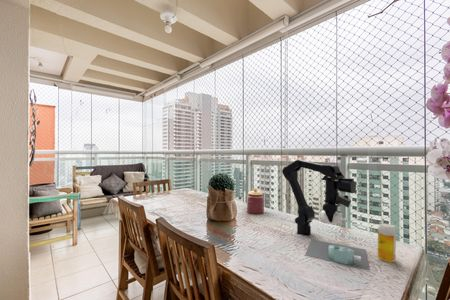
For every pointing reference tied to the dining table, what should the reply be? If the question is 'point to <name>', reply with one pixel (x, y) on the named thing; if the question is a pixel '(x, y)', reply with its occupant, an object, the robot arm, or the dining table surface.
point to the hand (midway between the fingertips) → (331, 220)
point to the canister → (255, 202)
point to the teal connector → (342, 255)
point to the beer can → (386, 242)
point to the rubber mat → (322, 252)
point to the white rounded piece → (336, 218)
